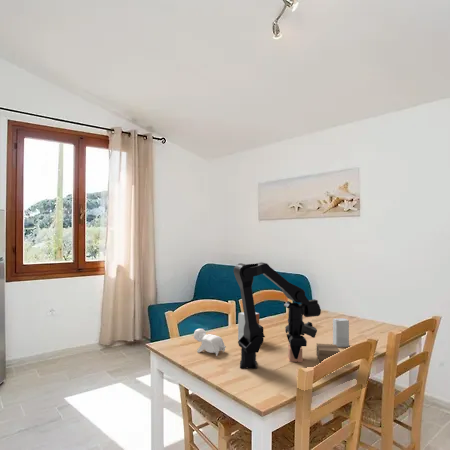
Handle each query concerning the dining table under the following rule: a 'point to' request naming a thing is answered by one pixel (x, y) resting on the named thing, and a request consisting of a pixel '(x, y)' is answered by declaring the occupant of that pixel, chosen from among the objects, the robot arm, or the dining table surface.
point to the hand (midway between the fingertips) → (295, 356)
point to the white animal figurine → (209, 342)
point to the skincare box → (341, 332)
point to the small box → (243, 324)
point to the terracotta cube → (291, 356)
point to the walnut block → (326, 351)
